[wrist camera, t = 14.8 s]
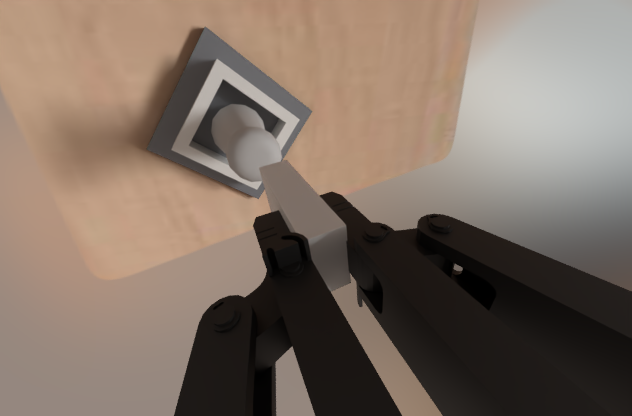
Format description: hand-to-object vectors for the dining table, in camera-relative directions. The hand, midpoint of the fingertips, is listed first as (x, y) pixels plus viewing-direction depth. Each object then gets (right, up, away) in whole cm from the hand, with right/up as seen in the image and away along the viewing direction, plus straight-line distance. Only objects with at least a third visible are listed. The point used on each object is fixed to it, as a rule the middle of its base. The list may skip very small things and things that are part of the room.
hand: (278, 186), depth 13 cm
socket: (-8, +9, +17) cm, 20 cm away
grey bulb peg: (-7, +8, +16) cm, 20 cm away
